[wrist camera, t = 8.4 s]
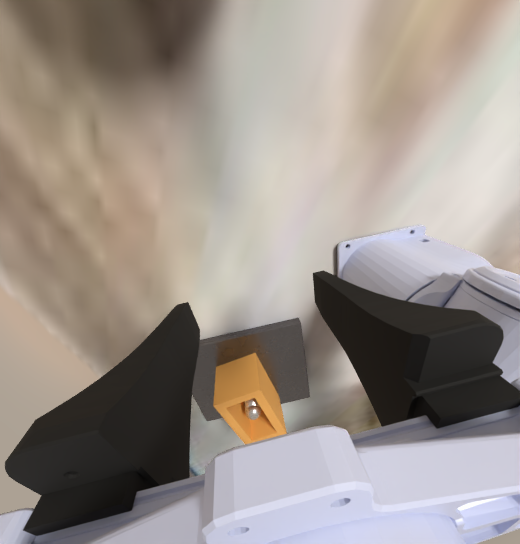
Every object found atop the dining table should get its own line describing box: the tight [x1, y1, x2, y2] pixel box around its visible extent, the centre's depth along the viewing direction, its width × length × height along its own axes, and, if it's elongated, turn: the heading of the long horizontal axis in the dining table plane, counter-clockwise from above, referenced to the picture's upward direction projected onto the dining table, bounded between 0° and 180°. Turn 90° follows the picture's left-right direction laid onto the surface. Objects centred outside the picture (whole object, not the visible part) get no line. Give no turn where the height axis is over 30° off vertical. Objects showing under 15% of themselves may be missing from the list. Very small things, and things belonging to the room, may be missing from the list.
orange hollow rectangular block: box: [213, 353, 287, 445], centre depth 27 cm, size 5×10×5 cm, turn 20°
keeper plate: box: [192, 318, 310, 421], centre depth 28 cm, size 16×15×6 cm
